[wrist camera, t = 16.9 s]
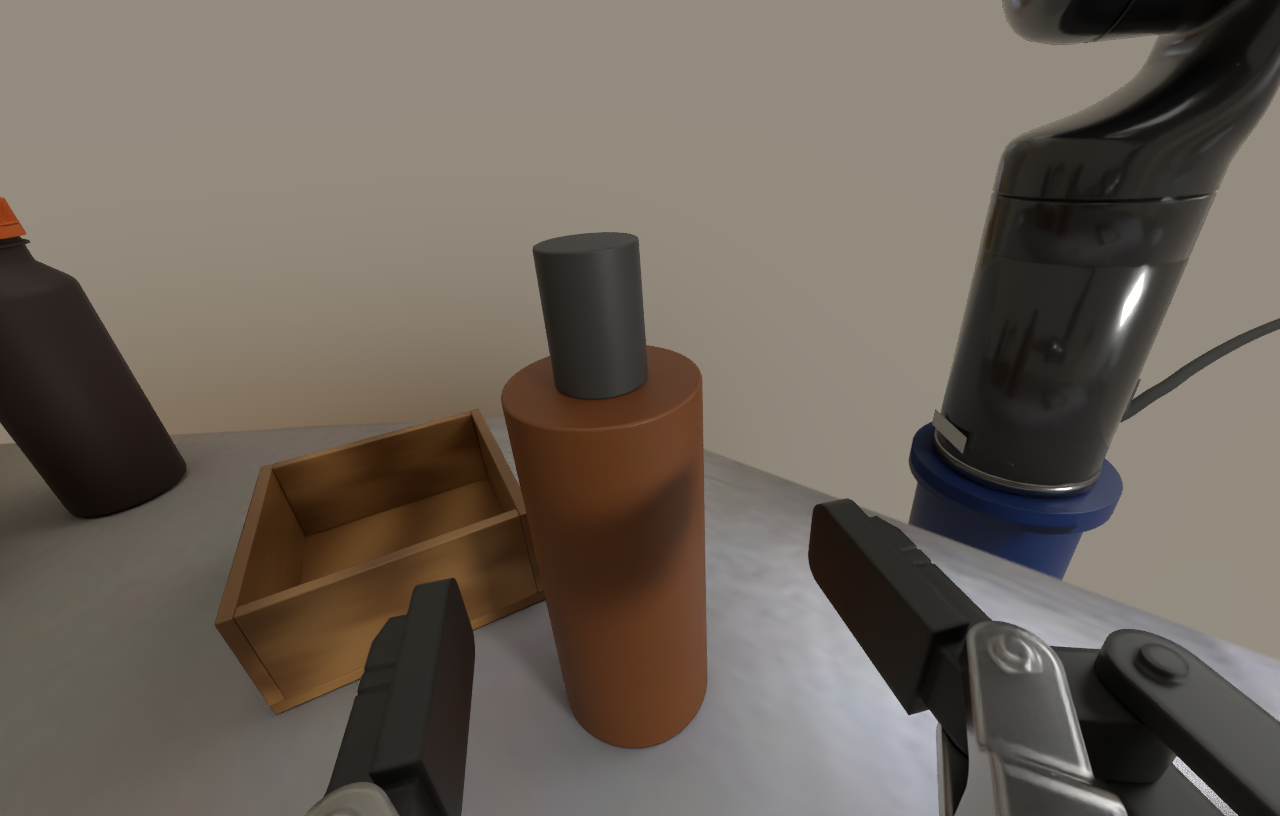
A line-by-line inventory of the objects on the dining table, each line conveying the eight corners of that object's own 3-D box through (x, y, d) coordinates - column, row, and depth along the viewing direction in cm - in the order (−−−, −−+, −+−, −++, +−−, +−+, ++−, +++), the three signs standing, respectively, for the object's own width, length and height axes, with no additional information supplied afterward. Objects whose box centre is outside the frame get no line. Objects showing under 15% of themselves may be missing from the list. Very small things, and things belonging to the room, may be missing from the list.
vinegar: (42, 528, 34) (-211, 215, 25) (112, 472, 40) (-72, 202, 31) (155, 508, 35) (-47, 201, 26) (207, 457, 41) (57, 192, 32)
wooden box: (496, 478, 36) (478, 408, 33) (551, 596, 26) (532, 510, 23) (299, 542, 31) (260, 466, 28) (275, 715, 21) (213, 625, 19)
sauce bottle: (663, 598, 25) (635, 217, 17) (736, 700, 20) (748, 238, 12) (548, 652, 23) (450, 243, 15) (600, 781, 18) (500, 283, 10)
